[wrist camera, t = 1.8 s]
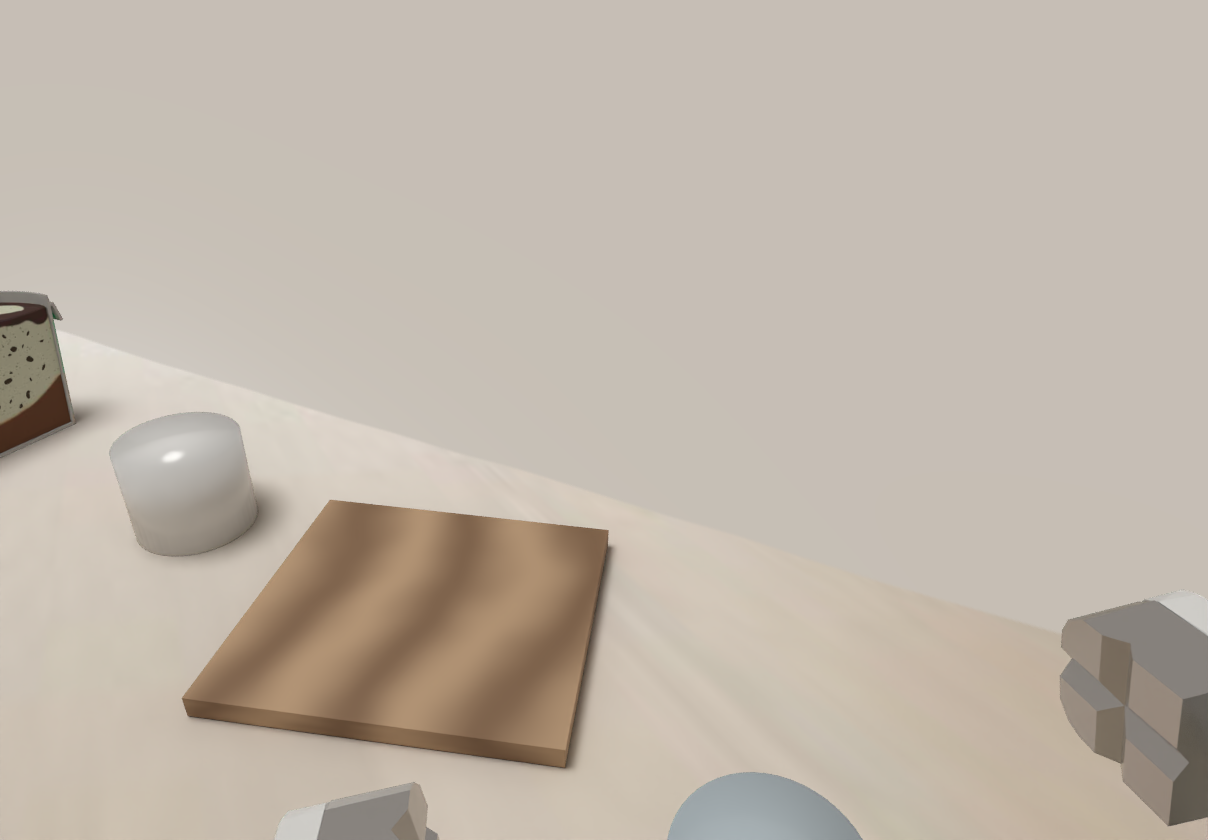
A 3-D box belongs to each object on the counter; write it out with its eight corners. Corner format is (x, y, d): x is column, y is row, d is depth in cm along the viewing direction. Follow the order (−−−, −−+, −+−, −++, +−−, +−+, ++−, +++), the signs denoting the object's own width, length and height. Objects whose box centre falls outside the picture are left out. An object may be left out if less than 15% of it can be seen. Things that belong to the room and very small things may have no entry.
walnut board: (187, 715, 37) (181, 697, 36) (332, 514, 50) (330, 499, 50) (564, 767, 35) (565, 750, 34) (607, 545, 49) (608, 530, 48)
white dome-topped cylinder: (110, 549, 47) (81, 465, 44) (179, 484, 53) (157, 407, 50) (220, 562, 46) (198, 478, 43) (277, 495, 52) (262, 417, 49)
